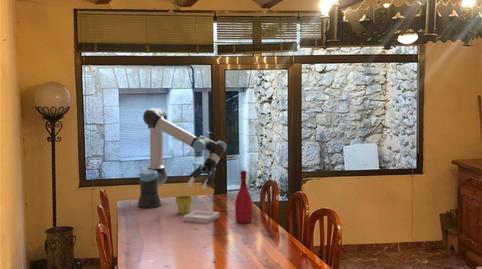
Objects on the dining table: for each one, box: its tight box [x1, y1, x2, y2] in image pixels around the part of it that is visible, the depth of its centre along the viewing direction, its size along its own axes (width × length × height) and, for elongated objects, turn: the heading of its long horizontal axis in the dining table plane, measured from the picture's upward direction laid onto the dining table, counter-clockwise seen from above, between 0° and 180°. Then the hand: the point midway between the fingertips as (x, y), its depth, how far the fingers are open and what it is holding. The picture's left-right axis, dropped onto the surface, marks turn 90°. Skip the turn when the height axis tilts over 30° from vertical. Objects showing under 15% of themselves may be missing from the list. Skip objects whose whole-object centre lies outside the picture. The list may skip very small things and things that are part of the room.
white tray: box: [183, 209, 220, 224], centre depth 307 cm, size 16×16×3 cm
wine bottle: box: [234, 170, 253, 224], centre depth 299 cm, size 10×10×30 cm
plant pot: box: [175, 195, 193, 215], centre depth 325 cm, size 10×10×10 cm
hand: (195, 187), depth 332 cm, fingers open, 13 cm apart
